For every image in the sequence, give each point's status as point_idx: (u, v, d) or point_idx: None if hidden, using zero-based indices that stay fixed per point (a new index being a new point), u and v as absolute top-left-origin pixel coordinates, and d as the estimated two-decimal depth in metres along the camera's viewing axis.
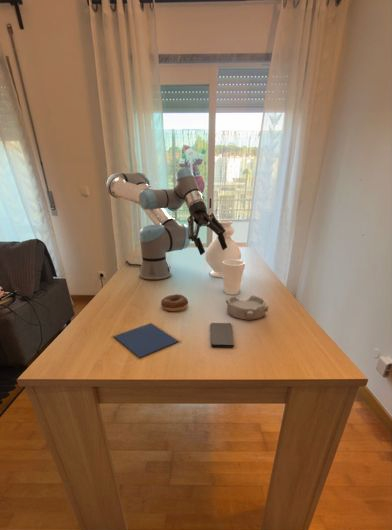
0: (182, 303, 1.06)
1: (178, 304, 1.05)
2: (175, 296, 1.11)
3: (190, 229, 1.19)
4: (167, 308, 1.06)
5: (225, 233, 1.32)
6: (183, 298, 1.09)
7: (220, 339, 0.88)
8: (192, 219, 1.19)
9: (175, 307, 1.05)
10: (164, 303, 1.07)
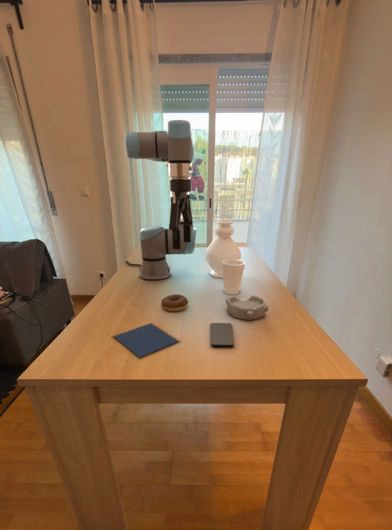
0: (182, 303, 1.06)
1: (178, 304, 1.05)
2: (175, 296, 1.11)
3: (174, 216, 0.95)
4: (167, 308, 1.06)
5: (225, 233, 1.32)
6: (183, 298, 1.09)
7: (220, 339, 0.88)
8: (178, 203, 0.95)
9: (175, 307, 1.05)
10: (164, 303, 1.07)
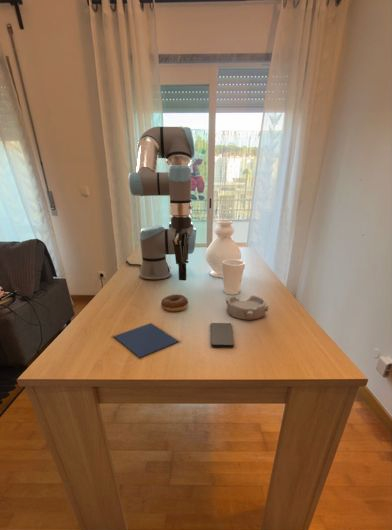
0: (182, 303, 1.06)
1: (178, 304, 1.05)
2: (175, 296, 1.11)
3: (179, 255, 1.05)
4: (167, 308, 1.06)
5: (225, 233, 1.32)
6: (183, 298, 1.09)
7: (220, 339, 0.88)
8: (180, 243, 1.02)
9: (175, 307, 1.05)
10: (164, 303, 1.07)
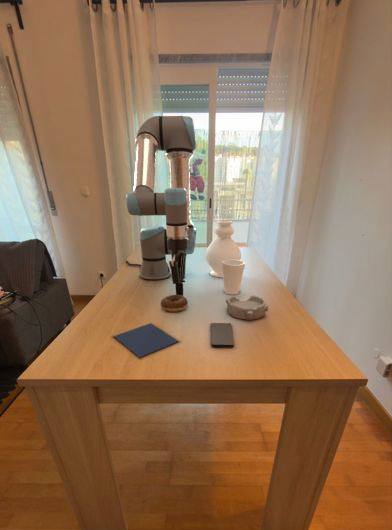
0: (182, 304, 1.06)
1: (178, 304, 1.05)
2: (175, 296, 1.11)
3: (175, 276, 1.05)
4: (167, 308, 1.06)
5: (225, 233, 1.32)
6: (183, 298, 1.08)
7: (220, 339, 0.88)
8: (176, 265, 1.02)
9: (175, 307, 1.05)
10: (164, 303, 1.06)
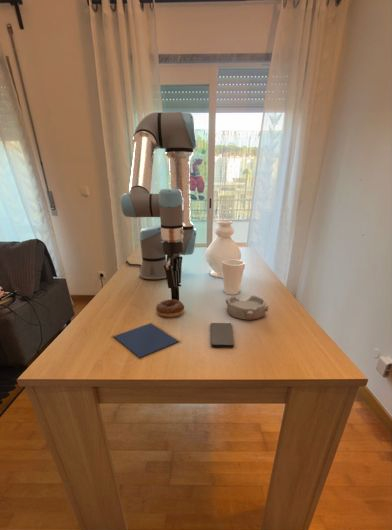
0: (179, 309, 1.02)
1: (174, 310, 1.01)
2: (171, 301, 1.07)
3: (171, 280, 1.01)
4: (163, 314, 1.02)
5: (225, 233, 1.32)
6: (179, 303, 1.05)
7: (220, 339, 0.88)
8: (172, 268, 0.98)
9: (171, 313, 1.01)
10: (160, 309, 1.02)
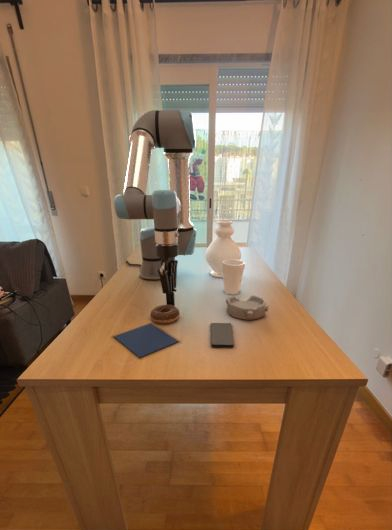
0: (174, 315, 0.98)
1: (169, 316, 0.97)
2: (165, 306, 1.02)
3: (165, 285, 0.97)
4: (157, 320, 0.98)
5: (225, 233, 1.32)
6: (174, 309, 1.00)
7: (220, 339, 0.88)
8: (166, 273, 0.94)
9: (166, 319, 0.97)
10: (154, 315, 0.98)
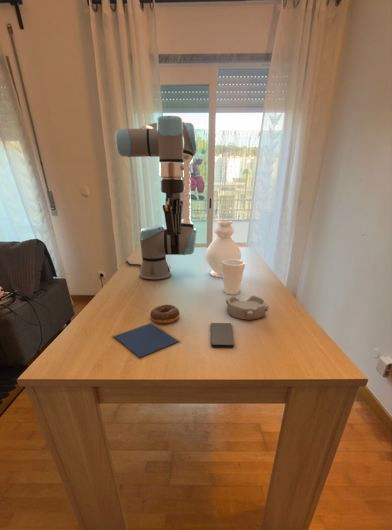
0: (174, 315, 0.98)
1: (169, 316, 0.97)
2: (165, 306, 1.02)
3: (170, 224, 0.94)
4: (157, 320, 0.98)
5: (225, 233, 1.32)
6: (174, 309, 1.00)
7: (220, 339, 0.88)
8: (171, 210, 0.91)
9: (166, 319, 0.97)
10: (154, 315, 0.98)
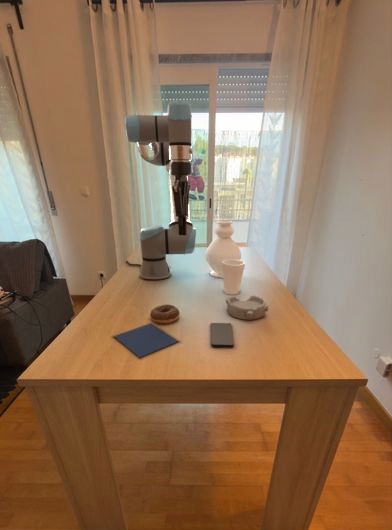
0: (174, 315, 0.98)
1: (169, 316, 0.97)
2: (165, 306, 1.02)
3: (178, 205, 1.00)
4: (157, 320, 0.98)
5: (225, 233, 1.32)
6: (174, 309, 1.00)
7: (220, 339, 0.88)
8: (180, 190, 0.97)
9: (166, 319, 0.97)
10: (154, 315, 0.98)
